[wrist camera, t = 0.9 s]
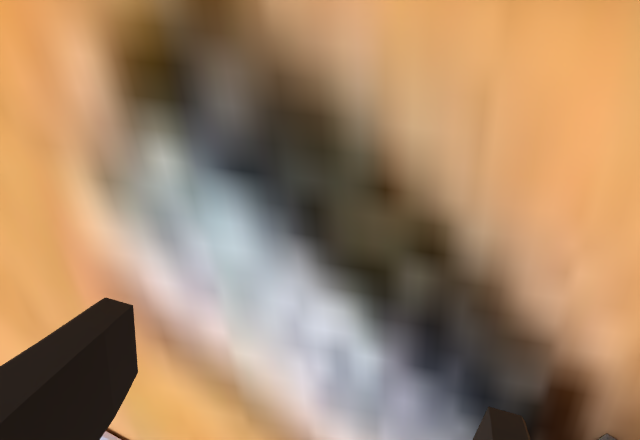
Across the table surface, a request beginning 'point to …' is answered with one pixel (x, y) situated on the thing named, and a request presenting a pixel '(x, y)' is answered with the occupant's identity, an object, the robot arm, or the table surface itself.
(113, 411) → the robot arm
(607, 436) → the mat
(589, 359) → the table surface
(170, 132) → the table surface
